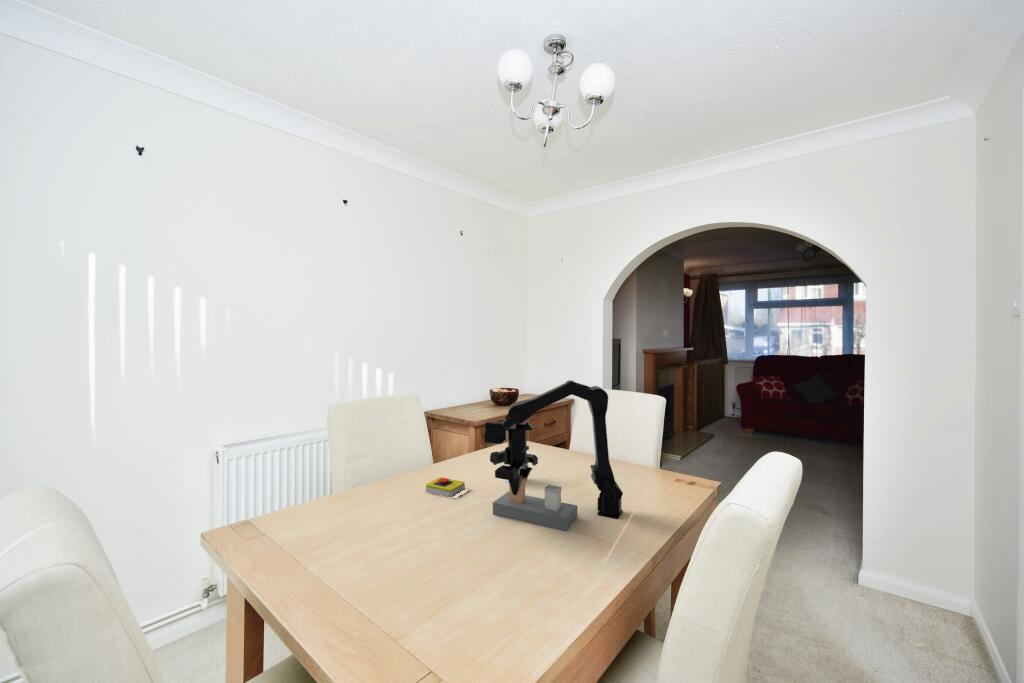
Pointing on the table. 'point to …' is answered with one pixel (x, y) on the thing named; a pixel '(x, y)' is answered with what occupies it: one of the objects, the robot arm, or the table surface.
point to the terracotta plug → (520, 495)
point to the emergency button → (445, 487)
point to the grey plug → (553, 497)
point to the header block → (536, 512)
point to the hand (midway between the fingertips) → (517, 493)
